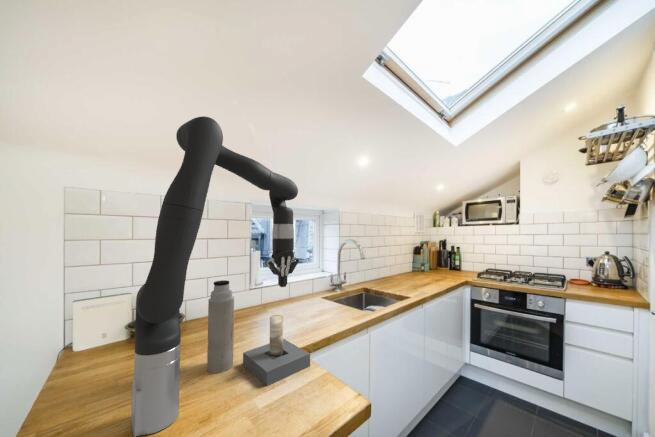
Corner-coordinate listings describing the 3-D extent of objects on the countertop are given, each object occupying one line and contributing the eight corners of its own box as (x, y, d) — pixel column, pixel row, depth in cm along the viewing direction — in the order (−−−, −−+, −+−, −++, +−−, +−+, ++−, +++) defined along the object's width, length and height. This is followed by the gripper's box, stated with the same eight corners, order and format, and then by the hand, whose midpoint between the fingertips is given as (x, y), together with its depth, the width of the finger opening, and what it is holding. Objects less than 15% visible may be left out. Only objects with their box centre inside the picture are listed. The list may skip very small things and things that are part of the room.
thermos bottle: (235, 359, 89) (236, 278, 90) (230, 372, 81) (231, 283, 83) (211, 361, 88) (212, 279, 89) (203, 374, 80) (205, 284, 81)
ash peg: (273, 370, 82) (274, 320, 83) (266, 365, 85) (267, 316, 86) (285, 365, 85) (285, 317, 86) (278, 360, 88) (278, 313, 89)
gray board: (266, 386, 74) (267, 372, 74) (242, 364, 86) (243, 352, 86) (310, 366, 85) (310, 353, 85) (283, 349, 97) (283, 338, 97)
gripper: (272, 237, 83) (271, 291, 82) (304, 237, 92) (304, 285, 91) (260, 237, 89) (260, 287, 88) (292, 236, 97) (292, 282, 97)
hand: (282, 286), depth 90 cm, fingers closed
